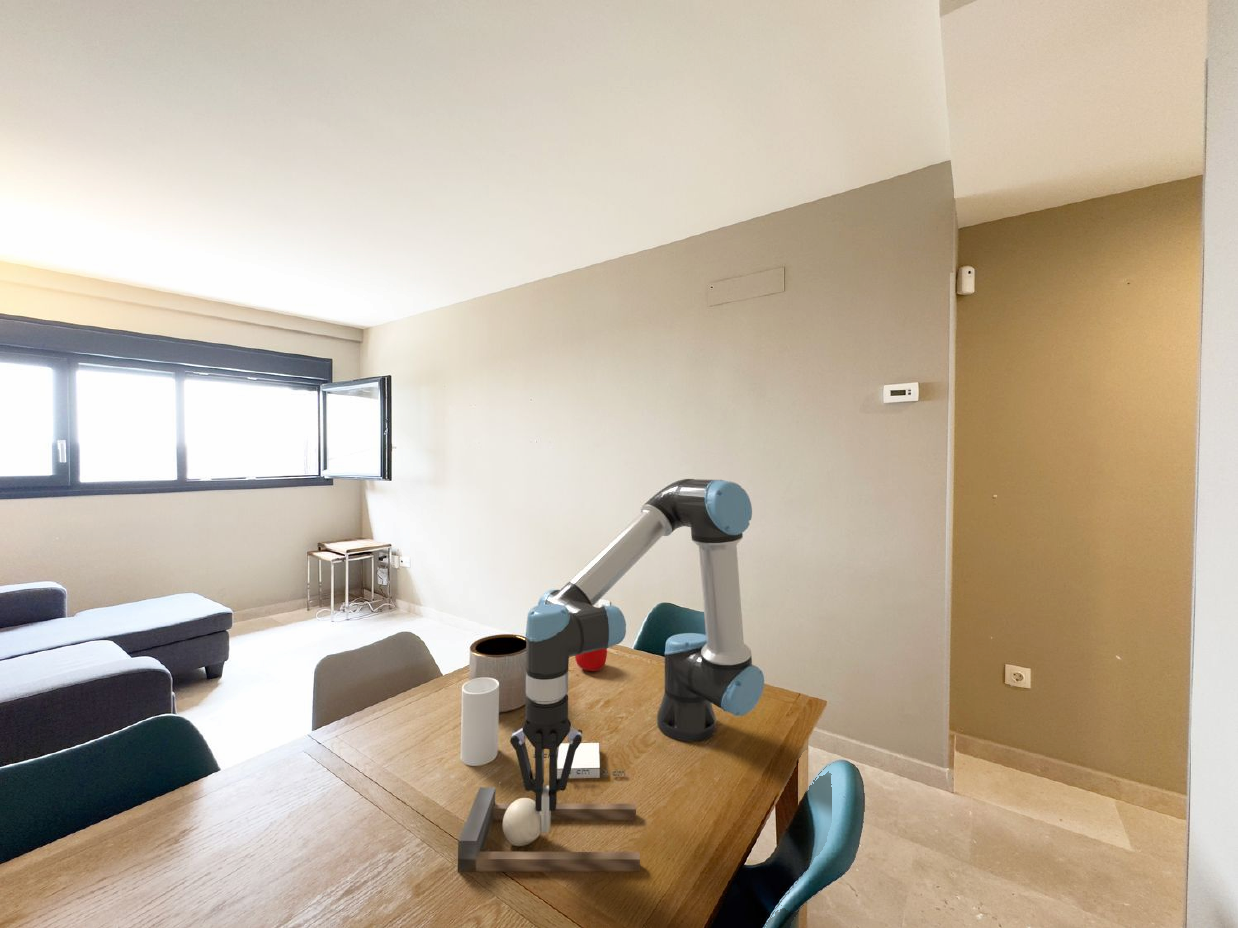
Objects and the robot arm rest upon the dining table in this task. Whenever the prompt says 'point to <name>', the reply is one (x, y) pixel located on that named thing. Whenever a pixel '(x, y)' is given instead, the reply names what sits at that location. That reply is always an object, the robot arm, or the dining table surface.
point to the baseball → (522, 822)
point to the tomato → (592, 660)
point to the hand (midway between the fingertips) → (545, 827)
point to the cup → (479, 721)
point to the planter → (502, 667)
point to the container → (582, 761)
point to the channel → (540, 861)
